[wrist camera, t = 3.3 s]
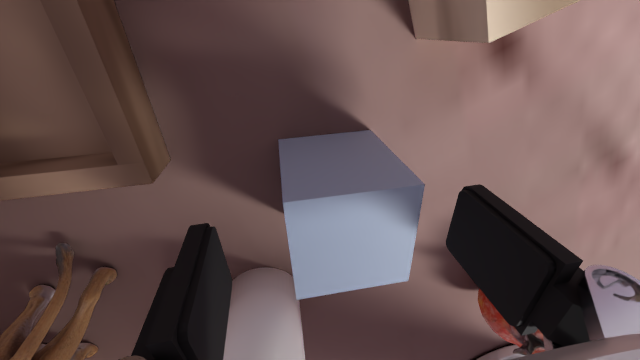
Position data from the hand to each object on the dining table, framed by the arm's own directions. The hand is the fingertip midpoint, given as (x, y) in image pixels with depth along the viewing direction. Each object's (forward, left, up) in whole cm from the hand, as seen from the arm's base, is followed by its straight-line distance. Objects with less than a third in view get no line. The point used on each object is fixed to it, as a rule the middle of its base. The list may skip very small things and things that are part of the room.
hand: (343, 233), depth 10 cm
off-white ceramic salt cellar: (+5, +10, -6) cm, 12 cm away
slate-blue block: (0, +1, -6) cm, 6 cm away
